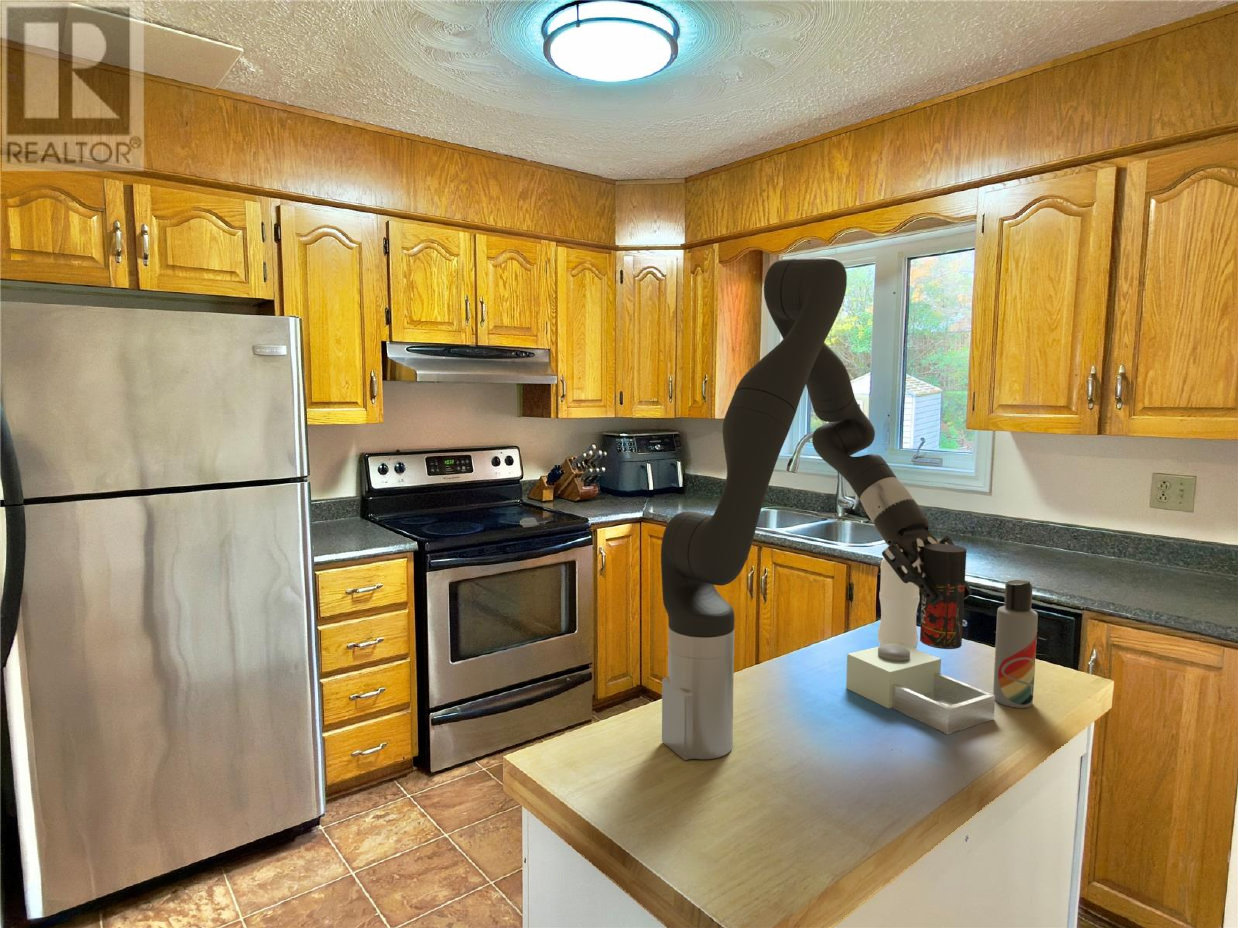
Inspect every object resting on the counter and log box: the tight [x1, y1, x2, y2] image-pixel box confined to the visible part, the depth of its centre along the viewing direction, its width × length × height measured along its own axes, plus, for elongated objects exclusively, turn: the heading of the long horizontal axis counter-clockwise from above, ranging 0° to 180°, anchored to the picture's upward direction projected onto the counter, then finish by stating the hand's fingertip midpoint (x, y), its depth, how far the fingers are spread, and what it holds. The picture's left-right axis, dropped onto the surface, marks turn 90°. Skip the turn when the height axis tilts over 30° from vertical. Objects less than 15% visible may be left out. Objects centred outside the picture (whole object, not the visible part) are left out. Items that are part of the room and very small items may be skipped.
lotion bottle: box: [992, 579, 1039, 709], centre depth 115 cm, size 6×6×20 cm
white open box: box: [891, 673, 996, 735], centre depth 111 cm, size 11×10×4 cm
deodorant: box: [919, 544, 967, 650], centre depth 110 cm, size 6×6×15 cm
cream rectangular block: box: [845, 642, 942, 709], centre depth 120 cm, size 12×9×7 cm
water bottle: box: [877, 556, 921, 650], centre depth 136 cm, size 7×7×25 cm
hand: (952, 599), depth 109 cm, fingers closed on deodorant, 6 cm apart
